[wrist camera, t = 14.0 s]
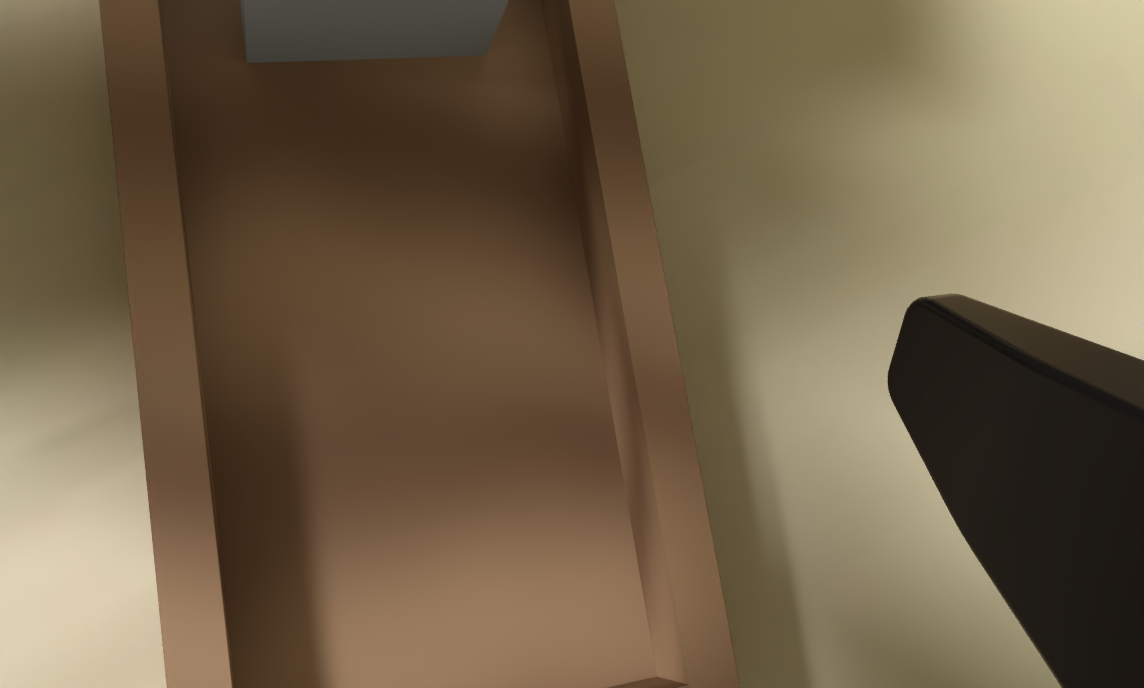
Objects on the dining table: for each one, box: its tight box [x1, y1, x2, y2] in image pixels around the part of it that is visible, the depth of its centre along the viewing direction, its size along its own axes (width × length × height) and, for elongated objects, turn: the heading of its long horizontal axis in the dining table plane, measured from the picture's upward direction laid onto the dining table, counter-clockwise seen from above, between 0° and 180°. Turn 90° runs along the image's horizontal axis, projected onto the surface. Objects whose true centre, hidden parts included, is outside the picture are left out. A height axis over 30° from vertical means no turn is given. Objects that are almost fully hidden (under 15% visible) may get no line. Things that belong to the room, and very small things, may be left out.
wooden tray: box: [99, 0, 740, 688], centre depth 22 cm, size 24×10×2 cm, turn 10°
